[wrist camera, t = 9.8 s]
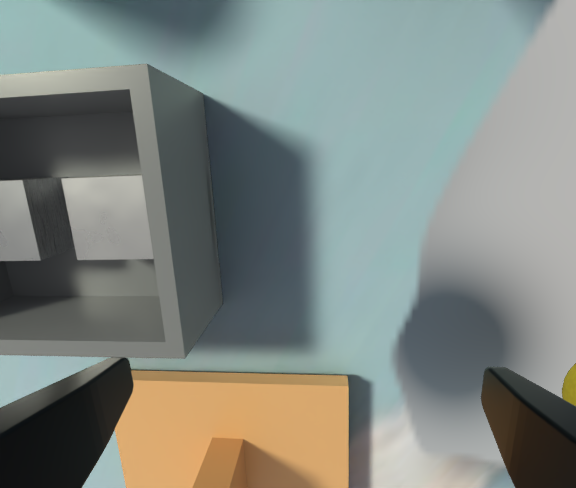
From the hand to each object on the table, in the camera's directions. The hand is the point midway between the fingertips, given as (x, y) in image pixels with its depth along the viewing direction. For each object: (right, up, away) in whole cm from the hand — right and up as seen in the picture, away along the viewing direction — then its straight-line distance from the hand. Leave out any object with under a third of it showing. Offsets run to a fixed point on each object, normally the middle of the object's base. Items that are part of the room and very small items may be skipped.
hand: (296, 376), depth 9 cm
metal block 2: (-9, +5, +11) cm, 15 cm away
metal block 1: (-15, +5, +11) cm, 19 cm away
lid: (-4, -11, +15) cm, 19 cm away
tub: (-11, +5, +12) cm, 17 cm away
